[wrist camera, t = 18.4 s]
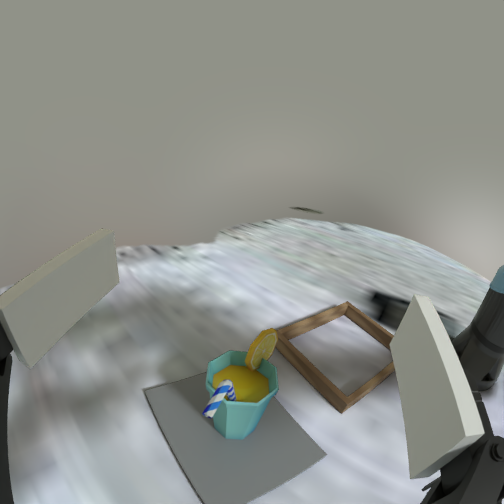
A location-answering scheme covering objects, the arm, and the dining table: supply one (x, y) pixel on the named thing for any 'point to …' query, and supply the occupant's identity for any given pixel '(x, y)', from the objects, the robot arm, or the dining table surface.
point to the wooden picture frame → (313, 373)
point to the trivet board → (230, 445)
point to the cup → (241, 387)
